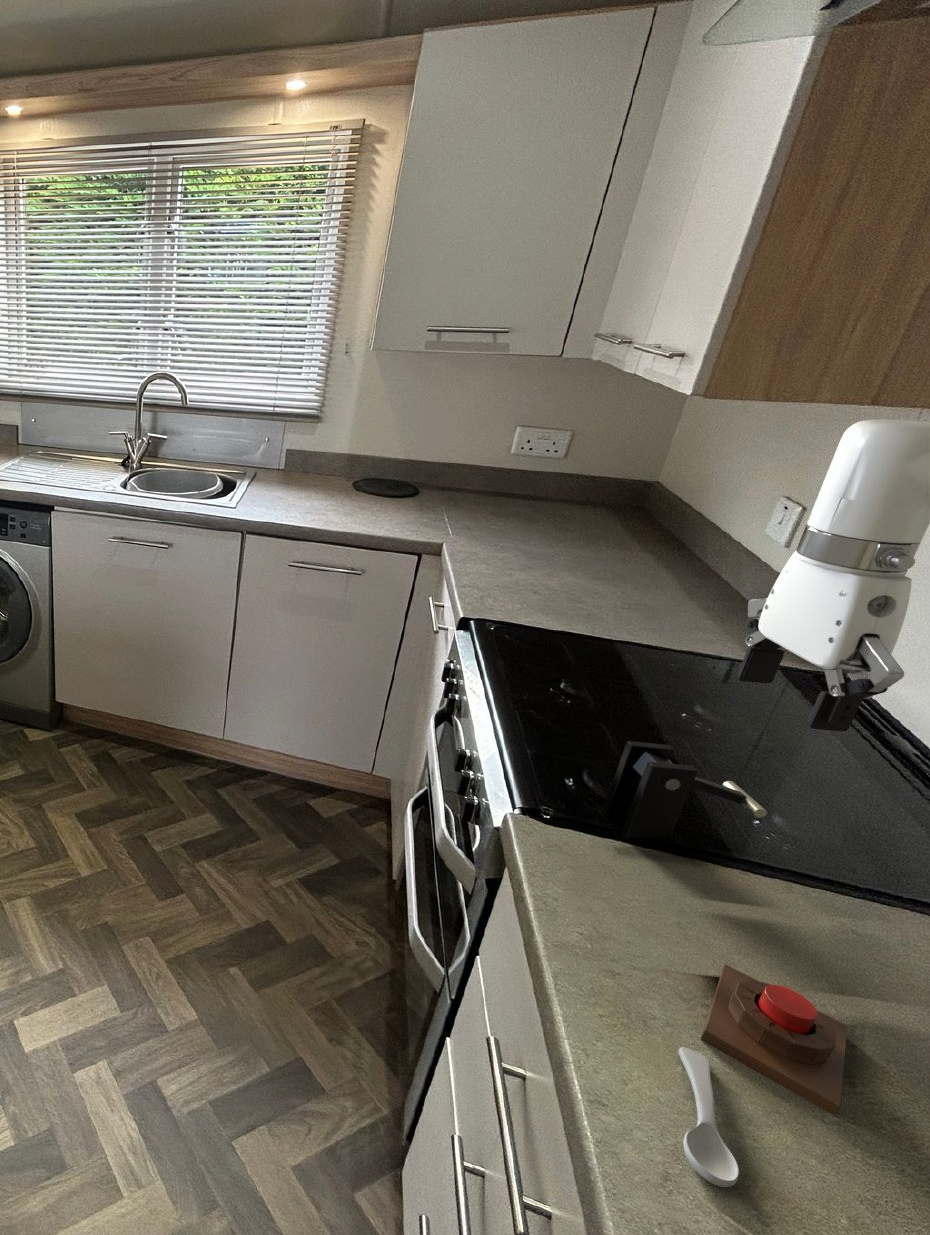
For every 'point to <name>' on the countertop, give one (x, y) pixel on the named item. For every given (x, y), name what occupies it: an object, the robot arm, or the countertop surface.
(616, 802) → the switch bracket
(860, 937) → the countertop surface
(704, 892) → the countertop surface
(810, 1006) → the power button
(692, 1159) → the spoon
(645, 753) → the switch lever
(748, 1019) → the control block
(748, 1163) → the countertop surface
